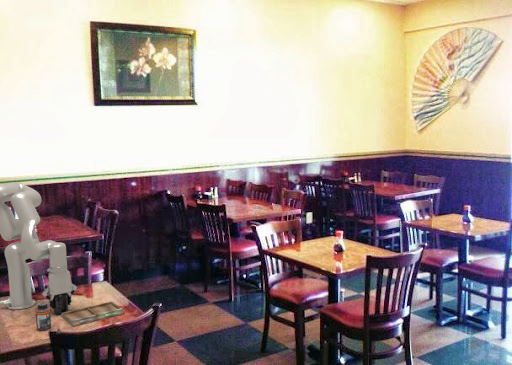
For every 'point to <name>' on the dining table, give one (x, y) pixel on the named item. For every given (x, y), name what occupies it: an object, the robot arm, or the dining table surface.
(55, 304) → the supplement bottle
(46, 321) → the supplement bottle
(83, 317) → the socket board
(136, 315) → the dining table surface
